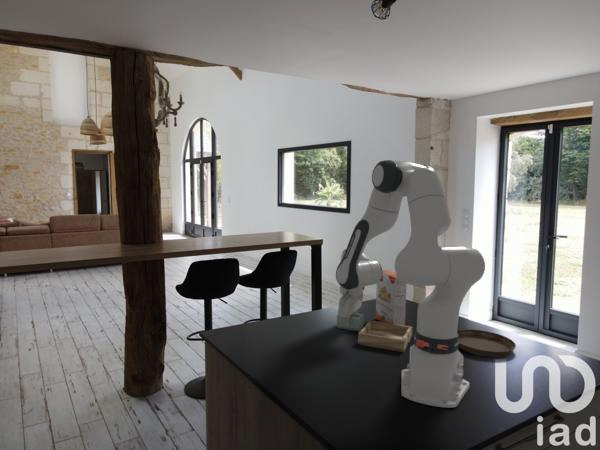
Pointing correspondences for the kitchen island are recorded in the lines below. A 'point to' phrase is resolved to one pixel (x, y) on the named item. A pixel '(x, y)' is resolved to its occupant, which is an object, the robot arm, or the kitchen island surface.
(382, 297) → the cracker box
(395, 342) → the big crate
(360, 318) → the box
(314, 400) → the kitchen island surface
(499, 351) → the plant saucer
